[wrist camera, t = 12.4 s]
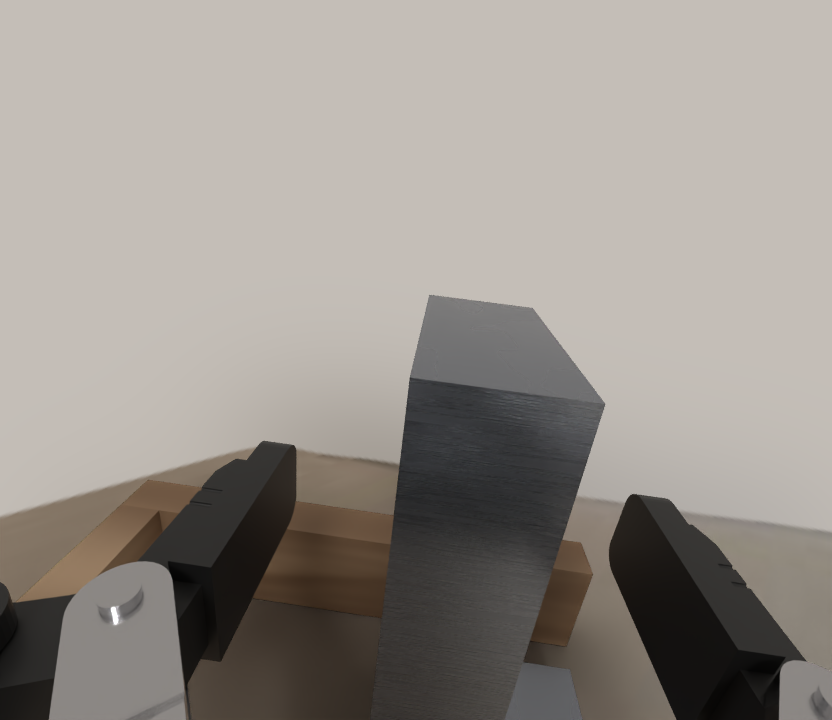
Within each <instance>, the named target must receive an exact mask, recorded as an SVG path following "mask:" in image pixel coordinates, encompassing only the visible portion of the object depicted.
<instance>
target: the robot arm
mask: <svg viewBox="0 0 832 720" xmlns="http://www.w3.org/2000/svg"><path fill="white" fill-rule="evenodd" d="M295 503H296V448H295V446H294V445H289V444H282V443H275V442H268V441H262V442H261V443H260V444H259V445H258V446H257V448H256V449H255V450H254V451H253V453H252V454H251V455H250V457H249V458H248V459H247V460H241V459H235V460H233V461H232V462H230V463H228V464H227V465H225V466H223V467H222V468H220V469H218V470H217V471H215V472H214V474H213V475H212V476H211V477H210V478H209V479H208V480H207V482H206V483H205V484H204V485H203V486H202V489H201V491H200V490H199V491H198V492H197V493H196V494H195V495H194V497H193V498H192V499H191V500H190V503H189V505H188V504H187V505H186V506H185V507H184V508H183V509H182V510H181V512H180V513H179V514H178V515H177V516H176V517H175V518H174V520H173V521H172V522H171V523H170V524H169V525H168V527H167V528H166V529H165V530H164V531H163V532H162V533H161V535H160V536H159V537H158V538H157V539H156V540H155V541H154V543H153V544H152V545H151V546H150V547H149V548H148V550H147V551H146V552H145V553H144V554H143V555H142V556H141V558H140V559H139V560H138V561H137V562H132V563H127V564H124V565H120V566H117V567H115V568H112V569H110V570H108V571H106V572H104V573H102V574H100V575H99V576H97V577H95V578H94V579H92V580H91V581H90V582H88V583H87V584H86V585H85V586H84V587H82V588H81V589H80V590H79V591H78V592H77V593H76V594H72V595H66V596H59V597H52V598H44V599H37V600H30V601H23V602H15V603H12V600H11V597H10V594H9V591H8V589H7V587H6V586H5V585H4V584H2V583H0V720H192V714H191V706H190V697H189V688H188V681H189V680H190V678H191V676H192V674H193V672H194V670H195V669H196V667H197V665H198V663H199V661H200V659H206V660H212V661H218V662H221V660H222V658H223V656H224V654H225V652H226V650H227V648H228V646H229V644H230V642H231V640H232V638H233V636H234V634H235V632H236V630H237V628H238V626H239V624H240V622H241V620H242V618H243V616H244V614H245V612H246V610H247V608H248V606H249V604H250V602H251V600H252V598H253V596H254V594H255V592H256V590H257V588H258V586H259V584H260V582H261V580H262V578H263V576H264V574H265V572H266V570H267V568H268V566H269V564H270V562H271V560H272V558H273V556H274V554H275V552H276V550H277V548H278V546H279V544H280V542H281V540H282V538H283V536H284V534H285V532H286V530H287V528H288V526H289V523H290V521H291V519H292V516H293V512H294V508H295ZM609 561H610V567H611V570H612V573H613V575H614V578H615V580H616V582H617V584H618V587H619V589H620V591H621V594H622V596H623V598H624V600H625V603H626V605H627V607H628V610H629V612H630V614H631V617H632V619H633V621H634V623H635V626H636V628H637V630H638V633H639V635H640V637H641V639H642V642H643V644H644V646H645V649H646V651H647V653H648V655H649V658H650V660H651V662H652V665H653V667H654V669H655V671H656V674H657V676H658V678H659V681H660V683H661V685H662V687H663V690H664V692H665V694H666V697H667V699H668V701H669V704H670V706H671V708H672V710H673V713H674V715H675V717H676V720H832V672H831V671H829V670H827V669H825V668H823V667H821V666H818V665H816V664H813V663H809V662H807V661H806V660H805V659H804V658H803V656H802V655H801V654H800V652H799V651H798V650H797V648H796V647H795V646H794V645H793V643H792V642H791V641H790V639H789V638H788V637H787V636H786V634H785V633H784V632H783V630H782V629H781V628H780V627H779V625H778V624H777V623H776V621H775V620H774V619H773V617H772V616H771V615H770V614H769V612H768V611H767V610H766V608H765V607H764V606H763V605H762V603H761V602H760V601H759V599H758V598H757V597H756V596H755V594H754V593H753V592H752V590H751V589H749V588H747V587H746V583H745V581H744V580H743V579H742V577H741V576H740V575H739V574H738V572H737V571H736V570H733V569H732V565H731V563H730V562H729V561H728V559H727V558H726V557H725V555H724V554H723V553H722V552H721V550H720V549H719V548H718V546H717V545H716V544H715V543H714V542H712V541H711V540H710V539H709V538H708V537H706V536H705V535H704V534H703V533H702V532H700V531H699V530H698V529H697V528H696V527H694V526H693V525H689V524H688V523H687V522H686V520H685V519H684V518H683V516H682V515H681V514H680V512H679V511H678V510H677V508H676V507H675V505H674V504H673V503H672V502H671V501H670V500H668V499H665V498H658V497H651V496H644V495H637V494H632V495H630V496H629V497H628V499H627V501H626V503H625V506H624V508H623V511H622V514H621V516H620V519H619V521H618V524H617V527H616V529H615V532H614V535H613V537H612V540H611V543H610V547H609Z"/></svg>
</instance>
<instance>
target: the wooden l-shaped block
mask: <svg viewBox="0 0 832 720" xmlns="http://www.w3.org/2000/svg"><path fill="white" fill-rule="evenodd" d="M201 489H202V488H201V487H194V486H187V485H180V484H173V483H166V482H160V481H153V480H147V481H146V482H145V483H144V484H143V485H142V486H141V487H140V488H139V489H138V490H136V491H135V492H134V493H133V494H132V495H131V496H130V497H129V498H128V499H127V500H126V501H125V502H123V503H122V504H121V505H120V506H119V507H118V508H117V509H116V510H115V511H114V512H113V513H112V514H110V515H109V516H108V517H107V518H106V519H105V520H104V521H103V522H102V523H101V524H100V525H99V526H97V527H96V528H95V529H94V530H93V531H92V532H91V533H90V534H89V535H88V536H87V537H86V538H84V539H83V540H82V541H81V542H80V543H79V544H78V545H77V546H76V547H75V548H74V549H72V550H71V551H70V552H69V553H68V554H67V555H66V556H65V557H64V558H63V559H62V560H61V561H59V562H58V563H57V564H56V565H55V566H54V567H53V568H52V569H51V570H50V571H49V572H48V573H46V574H45V575H44V576H43V577H42V578H41V579H40V580H39V581H38V582H37V583H36V584H35V585H33V586H32V587H31V588H30V589H29V590H28V591H27V592H26V593H25V594H24V595H23V596H22V597H20V598H19V599H18V600H17V601H16V602H23V601H30V600H37V599H44V598H52V597H59V596H66V595H72V594H76V593H77V592H78V591H79V590H80V589H81V588H82V587H84V586H85V585H86V584H87V583H88V582H90V581H91V580H92V579H94V578H95V577H97V576H99V575H100V574H102V573H104V572H106V571H108V570H110V569H112V568H115V567H117V566H120V565H124V564H127V563H132V562H137V561H138V560H139V559H140V558H141V556H142V555H143V554H144V553H145V552H146V551H147V550H148V548H149V547H150V546H151V545H152V544H153V543H154V541H155V540H156V539H157V538H158V537H159V536H160V535H161V533H162V532H163V531H164V530H165V529H166V528H167V527H168V525H169V524H170V523H171V522H172V521H173V520H174V518H175V517H176V516H177V515H178V514H179V513H180V512H181V510H182V509H183V508H184V507H185V506H186V505H187V504H188V505H189V503H190V500H191V499H192V498H193V497H194V495H195V494H196V493H197V492H198V491H199V490H200V491H201ZM393 518H394V516H393V515H386V514H380V513H373V512H366V511H359V510H352V509H345V508H338V507H331V506H325V505H318V504H311V503H304V502H297V501H296V503H295V508H294V512H293V516H292V519H291V521H290V523H289V526H288V528H287V530H286V532H285V534H284V536H283V538H282V540H281V542H280V544H279V546H278V548H277V550H276V552H275V554H274V556H273V558H272V560H271V562H270V564H269V566H268V568H267V570H266V572H265V574H264V576H263V578H262V580H261V582H260V584H259V586H258V588H257V590H256V592H255V594H254V596H253V598H255V599H261V600H268V601H274V602H281V603H287V604H294V605H300V606H307V607H313V608H320V609H326V610H333V611H339V612H346V613H352V614H359V615H365V616H372V617H378V618H382V613H383V604H384V596H385V587H386V579H387V570H388V561H389V553H390V544H391V536H392V527H393ZM592 576H593V573H592V571H591V568H590V565H589V563H588V560H587V557H586V555H585V552H584V550H583V547H582V544H581V543H579V542H572V541H565V540H562V541H561V545H560V548H559V551H558V554H557V557H556V560H555V563H554V567H553V570H552V573H551V576H550V579H549V582H548V585H547V588H546V592H545V595H544V598H543V601H542V604H541V607H540V610H539V614H538V617H537V620H536V623H535V626H534V629H533V632H532V636H531V639H530V641H534V642H541V643H548V644H554V645H561V646H567V643H568V640H569V638H570V635H571V632H572V630H573V627H574V624H575V621H576V619H577V616H578V613H579V611H580V608H581V605H582V603H583V600H584V597H585V594H586V592H587V589H588V586H589V584H590V581H591V578H592Z"/></svg>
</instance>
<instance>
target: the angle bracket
mask: <svg viewBox="0 0 832 720" xmlns="http://www.w3.org/2000/svg"><path fill="white" fill-rule="evenodd" d="M604 407H605V403H604V402H603V400H602V399H601V398H600V396H599V395H598V394H597V392H596V391H595V390H594V388H593V387H592V386H591V384H590V383H589V382H588V380H587V379H586V378H585V377H584V375H583V374H582V373H581V371H580V370H579V369H578V367H577V366H576V365H575V363H574V362H573V361H572V360H571V358H570V357H569V355H568V354H567V353H566V351H565V350H564V349H563V348H562V346H561V345H560V344H559V342H558V341H557V340H556V338H555V337H554V336H553V335H552V333H551V332H550V330H549V329H548V328H547V326H546V325H545V324H544V322H543V321H542V320H541V319H540V317H539V316H538V315H537V313H536V312H535V311H534V309H533V308H528V307H520V306H512V305H504V304H497V303H489V302H481V301H472V300H466V299H458V298H449V297H442V296H435V295H429V299H428V303H427V307H426V312H425V316H424V320H423V324H422V328H421V333H420V337H419V341H418V345H417V350H416V354H415V358H414V362H413V366H412V371H411V375H410V381H409V390H408V398H407V407H406V415H405V425H404V433H403V441H402V450H401V458H400V467H399V475H398V484H397V493H396V501H395V510H394V518H393V527H392V536H391V544H390V553H389V561H388V570H387V579H386V587H385V596H384V604H383V613H382V622H381V630H380V639H379V647H378V656H377V665H376V673H375V682H374V690H373V699H372V708H371V716H370V720H582V716H581V712H580V708H579V704H578V700H577V696H576V692H575V688H574V684H573V680H572V676H571V672H570V669H563V668H557V667H551V666H545V665H538V664H532V663H526V662H523V661H524V657H525V654H526V651H527V648H528V645H529V642H530V639H531V636H532V632H533V629H534V626H535V623H536V620H537V617H538V614H539V610H540V607H541V604H542V601H543V598H544V595H545V592H546V588H547V585H548V582H549V579H550V576H551V573H552V570H553V567H554V563H555V560H556V557H557V554H558V551H559V548H560V545H561V541H562V538H563V535H564V532H565V529H566V526H567V523H568V520H569V516H570V513H571V510H572V507H573V504H574V501H575V498H576V494H577V491H578V488H579V485H580V482H581V478H582V476H583V472H584V469H585V466H586V463H587V459H588V457H589V454H590V451H591V447H592V444H593V441H594V438H595V435H596V432H597V428H598V425H599V422H600V419H601V416H602V413H603V410H604Z"/></svg>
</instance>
